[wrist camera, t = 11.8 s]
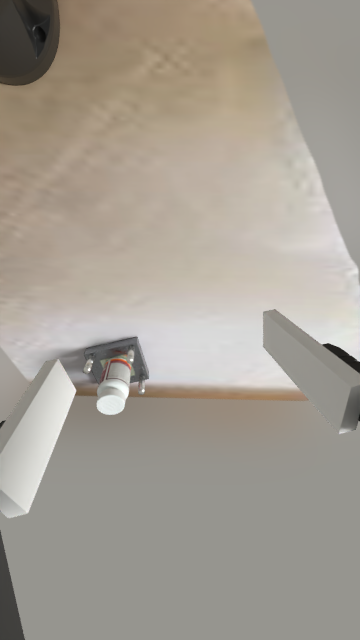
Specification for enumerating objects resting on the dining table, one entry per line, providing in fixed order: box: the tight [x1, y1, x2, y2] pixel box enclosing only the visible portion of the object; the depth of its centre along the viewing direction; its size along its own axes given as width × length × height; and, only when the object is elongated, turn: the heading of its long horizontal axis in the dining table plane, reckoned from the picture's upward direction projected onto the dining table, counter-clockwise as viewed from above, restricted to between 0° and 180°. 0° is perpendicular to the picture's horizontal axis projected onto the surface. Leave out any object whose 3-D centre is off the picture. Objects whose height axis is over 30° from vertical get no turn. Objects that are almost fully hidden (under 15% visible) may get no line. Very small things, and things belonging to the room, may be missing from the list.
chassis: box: [83, 337, 149, 395], centre depth 49 cm, size 11×12×8 cm
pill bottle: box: [97, 358, 131, 415], centre depth 45 cm, size 6×6×11 cm
